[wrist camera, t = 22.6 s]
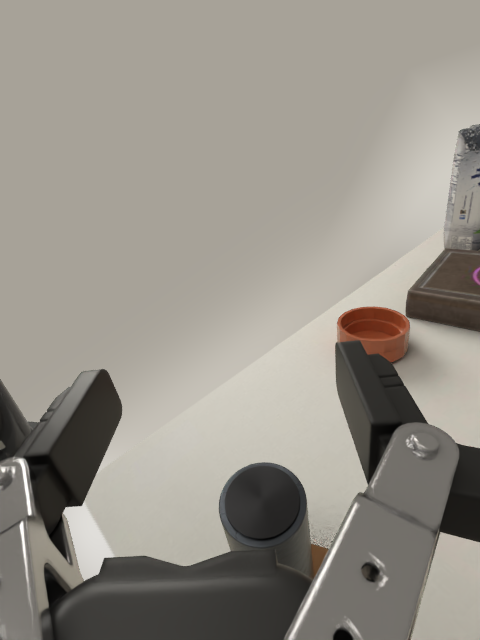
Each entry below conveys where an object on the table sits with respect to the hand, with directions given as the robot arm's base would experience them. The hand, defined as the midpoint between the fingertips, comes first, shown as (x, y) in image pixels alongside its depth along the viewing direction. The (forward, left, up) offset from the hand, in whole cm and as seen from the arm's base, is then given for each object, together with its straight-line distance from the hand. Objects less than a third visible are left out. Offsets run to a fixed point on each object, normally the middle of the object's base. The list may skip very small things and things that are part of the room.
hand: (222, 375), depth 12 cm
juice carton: (+23, +85, -25) cm, 92 cm away
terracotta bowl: (+4, +38, -25) cm, 46 cm away
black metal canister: (-1, +4, -24) cm, 24 cm away
